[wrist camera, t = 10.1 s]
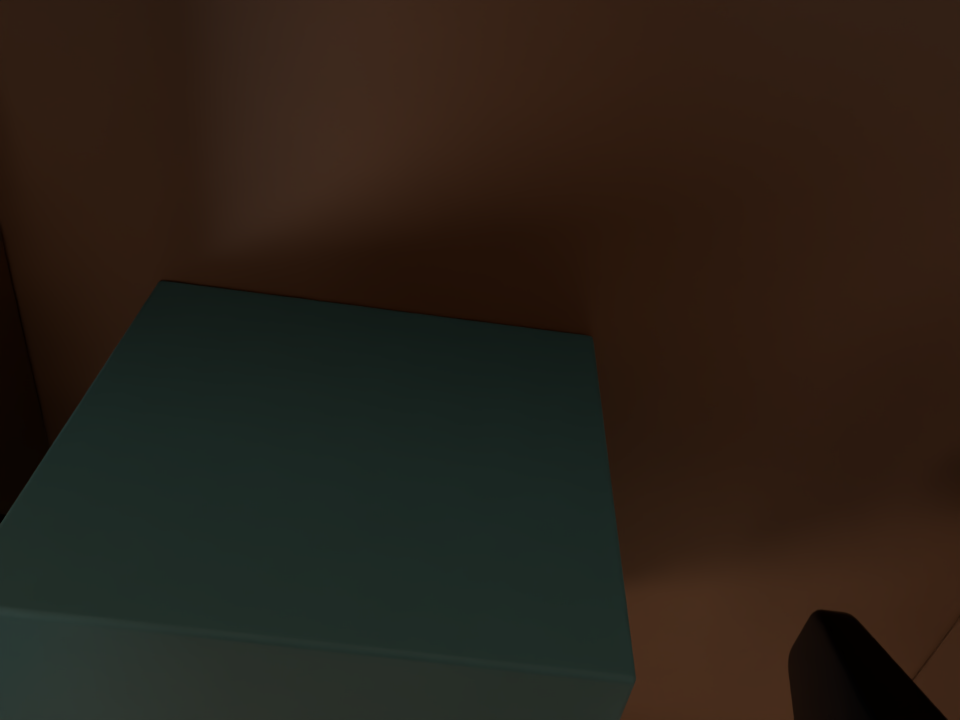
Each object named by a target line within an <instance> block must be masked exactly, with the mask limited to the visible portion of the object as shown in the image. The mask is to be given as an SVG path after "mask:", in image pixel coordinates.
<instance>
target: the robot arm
mask: <svg viewBox="0 0 960 720" xmlns="http://www.w3.org/2000/svg"><path fill="white" fill-rule="evenodd" d="M5 516H6V515H5V514H0V524H1V522H2V520H3V519H4V517H5ZM788 674H789V683H790V691H791V699H792V708H793V716H794V720H948V719H947V718H946V717H945V716H944V715H943V714H942V712H941V711H940V710H939V709H938V708H937V707H936V706H935V705H934V704H933V703H932V701H931V700H930V699H929V698H928V697H927V696H926V695H925V694H924V693H923V691H922V690H921V689H920V688H919V687H918V686H917V685H916V684H915V683H914V681H913V680H912V679H911V678H910V677H909V676H908V675H907V674H906V673H905V671H904V670H903V669H902V668H901V667H900V666H899V665H898V664H897V663H896V662H895V660H894V659H893V658H892V657H891V656H890V655H889V654H888V653H887V652H886V650H885V649H884V648H883V647H882V646H881V645H880V644H879V643H878V642H877V640H876V639H875V638H874V637H873V636H872V635H871V634H870V633H869V632H868V630H867V629H866V628H865V627H864V626H863V625H862V624H861V623H860V622H859V621H858V620H857V619H856V618H855V617H854V616H853V615H851V614H849V613H846V612H841V611H832V610H823V609H819V610H816V611H814V612H813V613H812V614H811V615H810V616H809V618H808V620H807V622H806V623H805V625H804V627H803V628H802V630H801V632H800V634H799V635H798V637H797V639H796V640H795V642H794V644H793V646H792V647H791V650H790V653H789V657H788Z"/></svg>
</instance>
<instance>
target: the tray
mask: <svg viewBox="0 0 960 720" xmlns="http://www.w3.org/2000/svg"><path fill="white" fill-rule="evenodd" d="M160 281H170V282H178V283H185V284H193V285H201V286H209V287H216V288H224V289H232V290H240V291H247V292H255V293H263V294H271V295H278V296H286V297H294V298H302V299H309V300H317V301H325V302H333V303H340V304H348V305H356V306H364V307H371V308H379V309H387V310H395V311H402V312H410V313H418V314H426V315H433V316H441V317H449V318H457V319H464V320H472V321H480V322H488V323H495V324H503V325H511V326H519V327H526V328H534V329H542V330H550V331H557V332H565V333H573V334H581V335H588V336H591V337H592V338H593V341H594V349H595V357H596V365H597V373H598V381H599V389H600V397H601V405H602V412H603V420H604V428H605V436H606V444H607V452H608V460H609V468H610V476H611V484H612V492H613V500H614V507H615V515H616V523H617V531H618V539H619V547H620V555H621V563H622V571H623V579H624V587H625V595H626V602H627V610H628V618H629V626H630V634H631V642H632V650H633V658H634V666H635V674H636V681H635V684H634V686H633V689H632V691H631V694H630V696H629V699H628V701H627V703H626V706H625V708H624V711H623V713H622V715H621V718H620V720H794V716H793V708H792V699H791V691H790V683H789V674H788V657H789V653H790V650H791V647H792V646H793V644H794V642H795V640H796V639H797V637H798V635H799V634H800V632H801V630H802V628H803V627H804V625H805V623H806V622H807V620H808V618H809V616H810V615H811V614H812V613H813V612H814V611H816V610H819V609H823V610H832V611H841V612H846V613H849V614H851V615H853V616H854V617H855V618H856V619H857V620H858V621H859V622H860V623H861V624H862V625H863V626H864V627H865V628H866V629H867V630H868V632H869V633H870V634H871V635H872V636H873V637H874V638H875V639H876V640H877V642H878V643H879V644H880V645H881V646H882V647H883V648H884V649H885V650H886V652H887V653H888V654H889V655H890V656H891V657H892V658H893V659H894V660H895V662H896V663H897V664H898V665H899V666H900V667H901V668H902V669H903V670H904V671H905V673H906V674H907V675H908V676H909V677H910V678H911V679H912V680H913V681H914V683H915V684H916V685H917V686H918V687H919V688H920V689H921V690H922V691H923V693H924V694H925V695H926V696H927V697H928V698H929V699H930V700H931V701H932V703H933V704H934V705H935V706H936V707H937V708H938V709H939V710H940V711H941V712H942V714H943V715H944V716H945V717H946V718H947V719H948V720H960V0H0V514H5V515H6V514H7V513H8V511H9V510H10V508H11V507H12V505H13V504H14V502H15V501H16V499H17V498H18V496H19V494H20V493H21V491H22V490H23V488H24V487H25V485H26V484H27V482H28V481H29V479H30V478H31V476H32V475H33V473H34V472H35V470H36V469H37V467H38V465H39V464H40V462H41V461H42V459H43V458H44V456H45V455H46V453H47V452H48V450H49V449H50V447H51V446H52V444H53V443H54V441H55V439H56V438H57V436H58V435H59V433H60V432H61V430H62V429H63V427H64V426H65V424H66V423H67V421H68V420H69V418H70V417H71V415H72V413H73V412H74V410H75V409H76V407H77V406H78V404H79V403H80V401H81V400H82V398H83V397H84V395H85V394H86V392H87V391H88V389H89V387H90V386H91V384H92V383H93V381H94V380H95V378H96V377H97V375H98V374H99V372H100V371H101V369H102V368H103V366H104V365H105V363H106V361H107V360H108V358H109V357H110V355H111V354H112V352H113V351H114V349H115V348H116V346H117V345H118V343H119V342H120V340H121V339H122V337H123V336H124V334H125V332H126V331H127V329H128V328H129V326H130V325H131V323H132V322H133V320H134V319H135V317H136V316H137V314H138V313H139V311H140V310H141V308H142V306H143V305H144V303H145V302H146V300H147V299H148V297H149V296H150V294H151V293H152V291H153V290H154V288H155V287H156V285H157V284H158V282H160Z"/></svg>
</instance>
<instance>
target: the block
mask: <svg viewBox="0 0 960 720" xmlns="http://www.w3.org/2000/svg"><path fill="white" fill-rule="evenodd" d="M635 681H636V674H635V666H634V658H633V650H632V642H631V634H630V626H629V618H628V610H627V602H626V595H625V587H624V579H623V571H622V563H621V555H620V547H619V539H618V531H617V523H616V515H615V507H614V500H613V492H612V484H611V476H610V468H609V460H608V452H607V444H606V436H605V428H604V420H603V412H602V405H601V397H600V389H599V381H598V373H597V365H596V357H595V349H594V341H593V338H592V337H591V336H588V335H581V334H573V333H565V332H557V331H550V330H542V329H534V328H526V327H519V326H511V325H503V324H495V323H488V322H480V321H472V320H464V319H457V318H449V317H441V316H433V315H426V314H418V313H410V312H402V311H395V310H387V309H379V308H371V307H364V306H356V305H348V304H340V303H333V302H325V301H317V300H309V299H302V298H294V297H286V296H278V295H271V294H263V293H255V292H247V291H240V290H232V289H224V288H216V287H209V286H201V285H193V284H185V283H178V282H170V281H160V282H158V284H157V285H156V287H155V288H154V290H153V291H152V293H151V294H150V296H149V297H148V299H147V300H146V302H145V303H144V305H143V306H142V308H141V310H140V311H139V313H138V314H137V316H136V317H135V319H134V320H133V322H132V323H131V325H130V326H129V328H128V329H127V331H126V332H125V334H124V336H123V337H122V339H121V340H120V342H119V343H118V345H117V346H116V348H115V349H114V351H113V352H112V354H111V355H110V357H109V358H108V360H107V361H106V363H105V365H104V366H103V368H102V369H101V371H100V372H99V374H98V375H97V377H96V378H95V380H94V381H93V383H92V384H91V386H90V387H89V389H88V391H87V392H86V394H85V395H84V397H83V398H82V400H81V401H80V403H79V404H78V406H77V407H76V409H75V410H74V412H73V413H72V415H71V417H70V418H69V420H68V421H67V423H66V424H65V426H64V427H63V429H62V430H61V432H60V433H59V435H58V436H57V438H56V439H55V441H54V443H53V444H52V446H51V447H50V449H49V450H48V452H47V453H46V455H45V456H44V458H43V459H42V461H41V462H40V464H39V465H38V467H37V469H36V470H35V472H34V473H33V475H32V476H31V478H30V479H29V481H28V482H27V484H26V485H25V487H24V488H23V490H22V491H21V493H20V494H19V496H18V498H17V499H16V501H15V502H14V504H13V505H12V507H11V508H10V510H9V511H8V513H7V514H6V516H5V517H4V519H3V520H2V522H1V524H0V720H620V718H621V715H622V713H623V711H624V708H625V706H626V703H627V701H628V699H629V696H630V694H631V691H632V689H633V686H634V684H635Z"/></svg>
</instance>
